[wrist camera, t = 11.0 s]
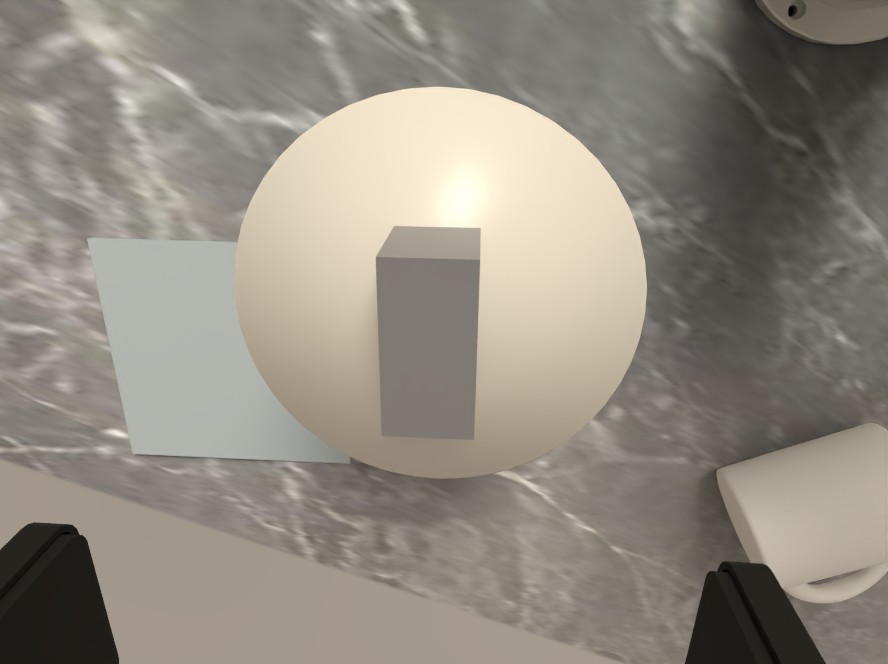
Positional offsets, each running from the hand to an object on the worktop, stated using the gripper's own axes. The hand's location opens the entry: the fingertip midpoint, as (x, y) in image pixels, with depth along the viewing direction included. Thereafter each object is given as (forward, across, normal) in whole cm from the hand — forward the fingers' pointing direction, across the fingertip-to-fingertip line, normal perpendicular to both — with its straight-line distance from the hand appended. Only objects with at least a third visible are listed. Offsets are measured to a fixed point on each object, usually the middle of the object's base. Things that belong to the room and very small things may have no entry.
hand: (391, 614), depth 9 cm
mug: (+30, -24, +19) cm, 44 cm away
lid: (+15, 0, 0) cm, 15 cm away
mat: (+30, +16, +10) cm, 35 cm away
